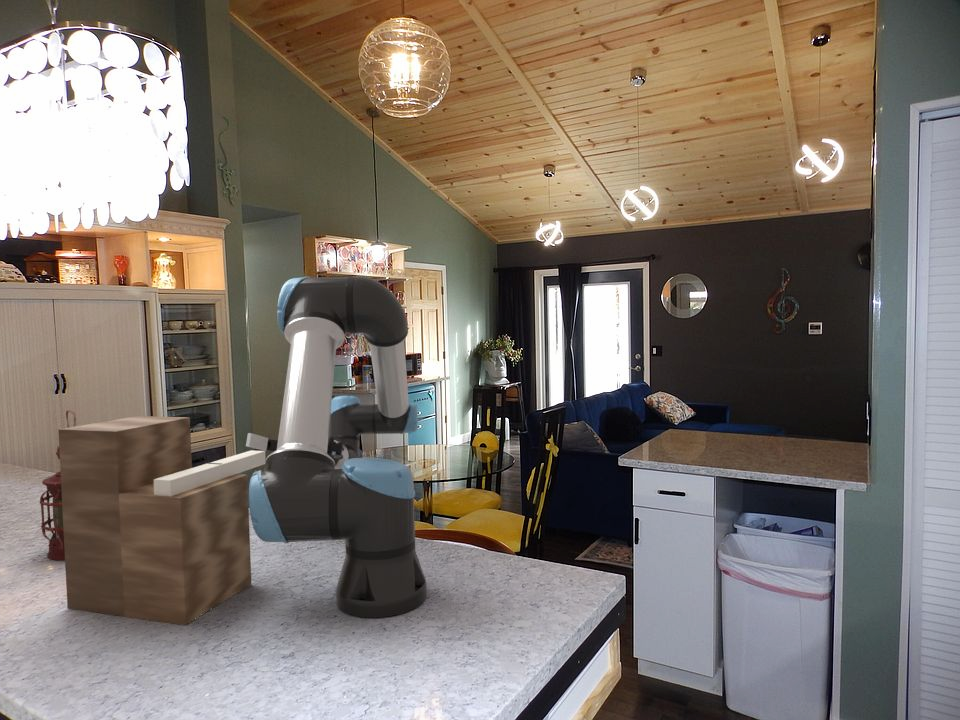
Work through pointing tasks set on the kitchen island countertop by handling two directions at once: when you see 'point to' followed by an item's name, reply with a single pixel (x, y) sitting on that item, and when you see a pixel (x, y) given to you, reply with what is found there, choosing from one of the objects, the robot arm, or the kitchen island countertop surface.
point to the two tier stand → (148, 523)
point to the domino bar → (207, 473)
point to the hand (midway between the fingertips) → (278, 441)
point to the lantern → (54, 510)
